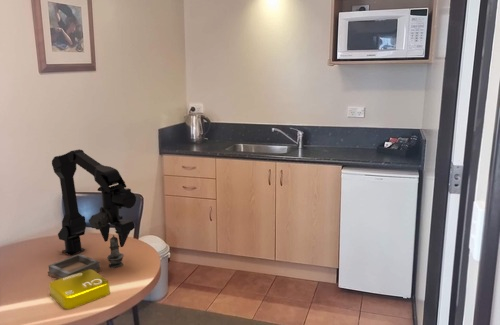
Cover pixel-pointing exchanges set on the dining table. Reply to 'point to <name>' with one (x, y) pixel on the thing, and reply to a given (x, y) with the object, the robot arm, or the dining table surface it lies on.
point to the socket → (73, 266)
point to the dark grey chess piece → (115, 254)
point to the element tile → (79, 289)
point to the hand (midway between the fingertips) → (114, 244)
